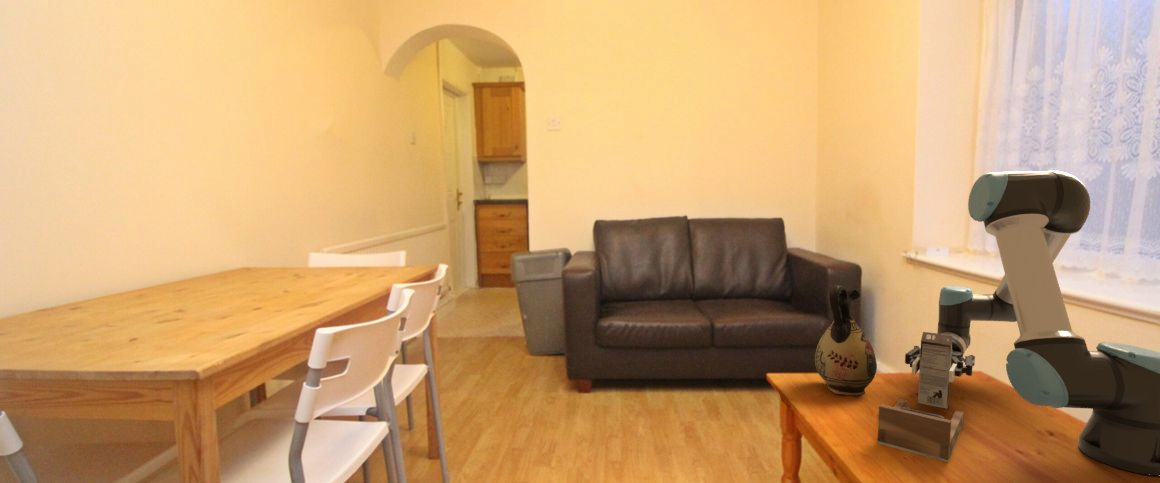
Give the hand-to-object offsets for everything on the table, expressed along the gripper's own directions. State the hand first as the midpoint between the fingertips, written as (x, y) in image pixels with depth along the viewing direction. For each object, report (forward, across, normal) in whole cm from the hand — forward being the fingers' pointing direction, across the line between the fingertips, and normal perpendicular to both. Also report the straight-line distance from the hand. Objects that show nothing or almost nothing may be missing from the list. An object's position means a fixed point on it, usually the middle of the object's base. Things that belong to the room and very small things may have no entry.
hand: (931, 372), depth 128 cm
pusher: (+13, 0, -10) cm, 17 cm away
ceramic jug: (-5, +21, -12) cm, 25 cm away
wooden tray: (+11, 0, -11) cm, 16 cm away
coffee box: (-5, 0, -9) cm, 10 cm away
